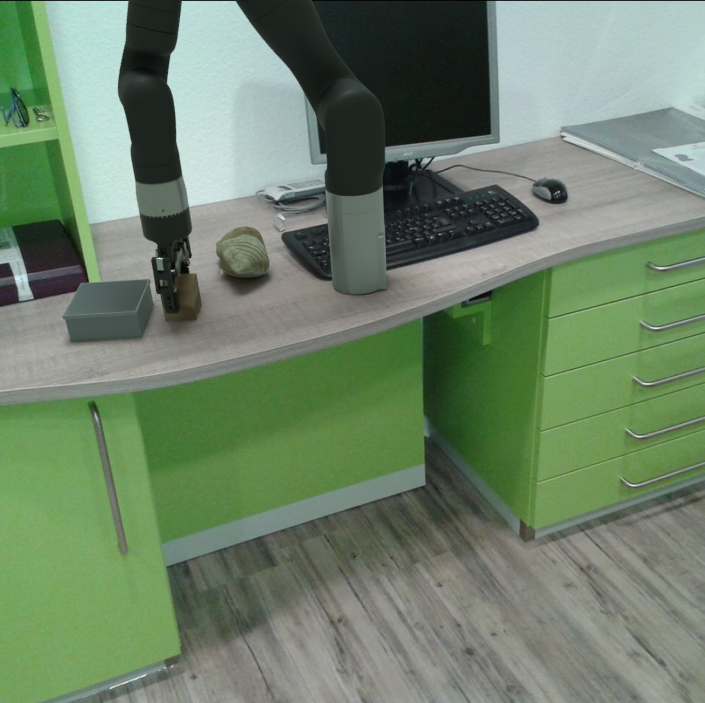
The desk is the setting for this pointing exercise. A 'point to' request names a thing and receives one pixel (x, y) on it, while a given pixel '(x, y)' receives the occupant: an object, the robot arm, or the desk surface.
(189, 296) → the brass block
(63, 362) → the desk surface
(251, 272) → the seashell
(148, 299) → the grey-green square slab
